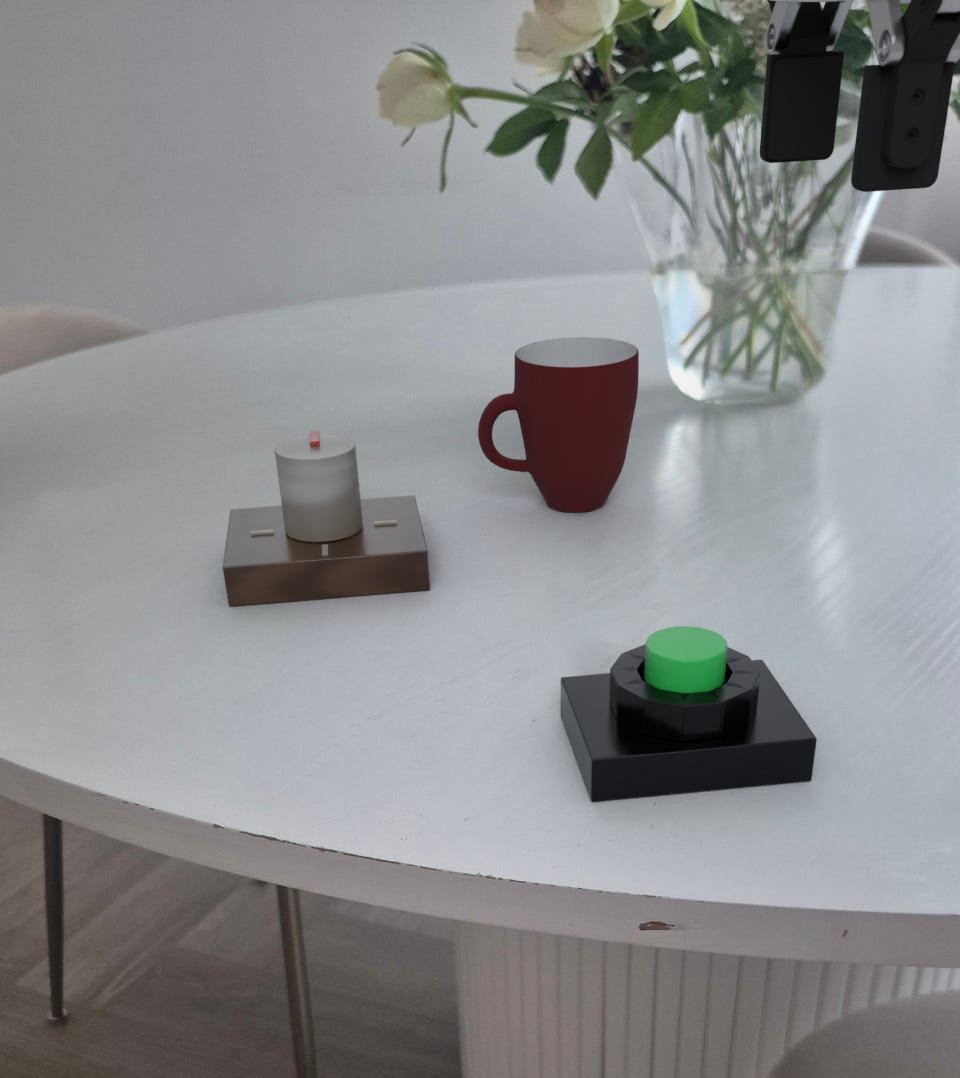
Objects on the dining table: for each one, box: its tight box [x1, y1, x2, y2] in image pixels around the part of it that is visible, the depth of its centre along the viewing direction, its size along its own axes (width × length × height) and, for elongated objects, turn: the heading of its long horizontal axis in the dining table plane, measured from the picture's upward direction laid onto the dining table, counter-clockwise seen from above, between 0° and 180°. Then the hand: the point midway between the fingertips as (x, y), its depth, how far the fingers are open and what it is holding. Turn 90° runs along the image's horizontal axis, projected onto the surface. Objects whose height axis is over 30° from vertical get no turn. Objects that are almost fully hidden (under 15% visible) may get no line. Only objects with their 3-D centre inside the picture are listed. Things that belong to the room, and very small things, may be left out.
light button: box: [644, 625, 728, 693], centre depth 57 cm, size 4×4×2 cm
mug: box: [477, 336, 640, 513], centre depth 84 cm, size 10×8×10 cm
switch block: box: [560, 644, 818, 803], centre depth 58 cm, size 10×8×4 cm
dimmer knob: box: [274, 429, 363, 542], centre depth 76 cm, size 5×5×5 cm
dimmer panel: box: [222, 495, 431, 607], centre depth 78 cm, size 12×10×3 cm
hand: (840, 173), depth 51 cm, fingers open, 9 cm apart
